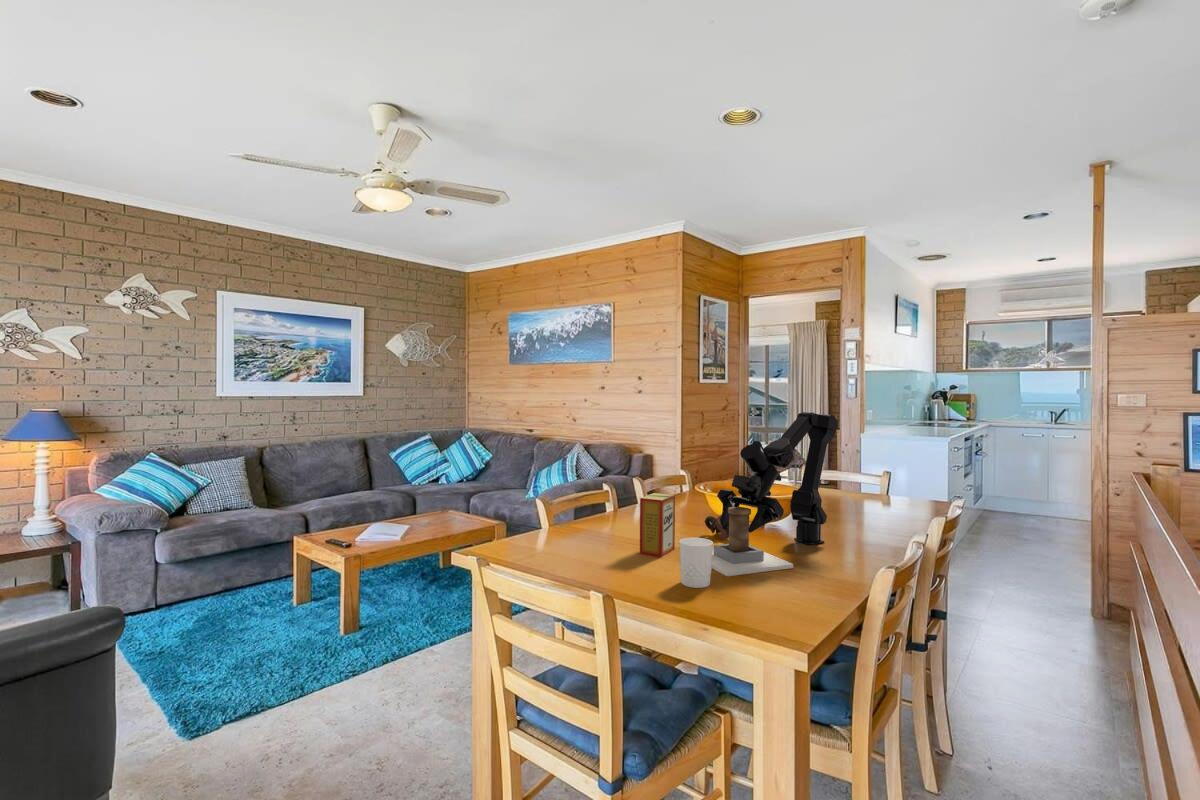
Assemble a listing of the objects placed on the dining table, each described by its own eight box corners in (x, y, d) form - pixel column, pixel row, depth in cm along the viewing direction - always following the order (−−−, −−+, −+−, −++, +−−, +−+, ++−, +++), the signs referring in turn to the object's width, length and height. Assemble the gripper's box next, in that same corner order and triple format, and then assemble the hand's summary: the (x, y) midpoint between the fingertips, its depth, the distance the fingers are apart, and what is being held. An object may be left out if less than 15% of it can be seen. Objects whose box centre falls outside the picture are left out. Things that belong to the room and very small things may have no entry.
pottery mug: (742, 535, 191) (747, 516, 186) (734, 555, 184) (739, 535, 179) (706, 522, 195) (710, 503, 191) (697, 541, 188) (700, 521, 183)
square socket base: (747, 548, 174) (747, 536, 174) (793, 567, 155) (793, 554, 155) (686, 555, 166) (686, 542, 166) (727, 576, 148) (727, 562, 148)
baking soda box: (661, 557, 164) (661, 499, 164) (639, 554, 167) (640, 496, 167) (674, 549, 172) (674, 493, 172) (653, 546, 176) (654, 491, 175)
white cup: (689, 576, 148) (690, 535, 148) (718, 583, 143) (719, 541, 143) (672, 584, 142) (672, 542, 142) (701, 591, 137) (702, 547, 137)
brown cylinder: (749, 555, 163) (750, 507, 163) (750, 561, 157) (751, 512, 157) (726, 553, 164) (727, 506, 164) (727, 559, 158) (728, 510, 158)
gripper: (721, 460, 170) (694, 504, 163) (777, 467, 155) (750, 515, 149) (739, 485, 175) (713, 528, 168) (795, 494, 160) (769, 542, 154)
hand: (735, 528), depth 160 cm, fingers open, 9 cm apart
